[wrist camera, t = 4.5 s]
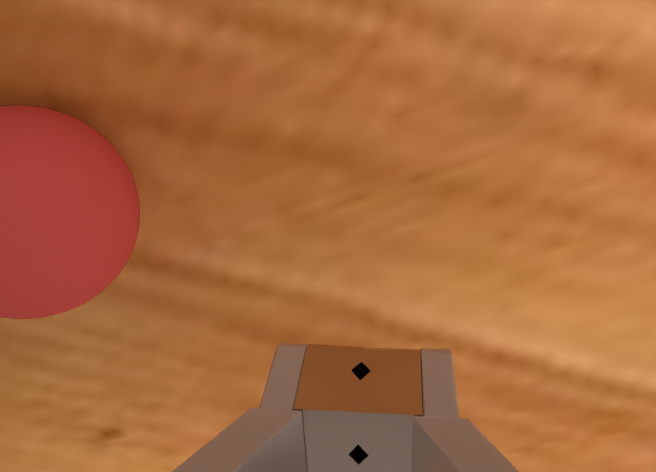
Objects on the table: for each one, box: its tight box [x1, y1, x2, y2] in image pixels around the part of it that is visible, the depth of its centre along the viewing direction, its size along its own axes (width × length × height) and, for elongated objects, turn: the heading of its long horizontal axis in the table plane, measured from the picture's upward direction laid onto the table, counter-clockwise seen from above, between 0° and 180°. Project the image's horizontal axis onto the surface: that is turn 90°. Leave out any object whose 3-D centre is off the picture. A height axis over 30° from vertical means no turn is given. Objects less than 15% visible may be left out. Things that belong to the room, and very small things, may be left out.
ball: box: [0, 105, 140, 319], centre depth 17 cm, size 6×6×6 cm
